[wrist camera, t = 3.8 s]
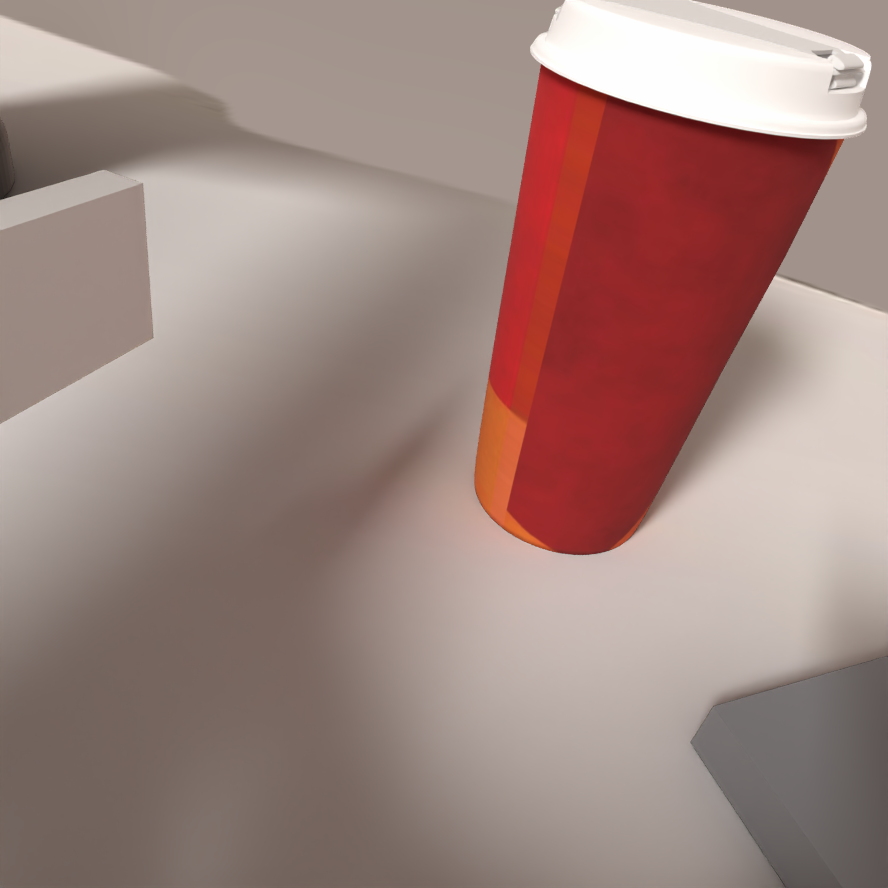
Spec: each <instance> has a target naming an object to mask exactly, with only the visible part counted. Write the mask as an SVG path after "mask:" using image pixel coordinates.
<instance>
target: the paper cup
mask: <svg viewBox="0 0 888 888" xmlns="http://www.w3.org/2000/svg"><path fill="white" fill-rule="evenodd" d="M555 12H557V13H556V14H555V15H554V16H553V19H552V22H551V25H550V28H549V30H548V32H545V33H543V34H540V35H539V36H538V37H537V38H536V40H535V41H534V43H533V44H532V45H531V48H530V50H531V54H532V56H533V57H534V58H535V59H536V60H537V61H538V62H540V63H541V68H540V74H539V80H538V86H537V92H536V98H535V104H534V110H533V116H532V122H531V128H530V134H529V140H528V146H527V152H526V157H525V163H524V169H523V175H522V181H521V187H520V193H519V199H518V205H517V211H516V217H515V222H514V228H513V234H512V240H511V246H510V252H509V258H508V264H507V270H506V276H505V282H504V288H503V293H502V299H501V306H500V312H499V318H498V324H497V330H496V336H495V342H494V348H493V354H492V360H491V366H490V372H489V378H488V384H487V391H486V397H485V403H484V409H483V416H482V422H481V428H480V435H479V442H478V449H477V456H476V466H475V490H476V494H477V497H478V499H479V501H480V503H481V505H482V507H483V508H484V510H485V511H486V512H487V514H488V515H489V516H490V517H491V518H492V519H493V520H494V521H495V522H496V523H497V524H498V525H499V526H501V527H502V528H503V529H504V530H506V531H507V532H509V533H510V534H512V535H513V536H515V537H517V538H519V539H520V540H522V541H525V542H527V543H529V544H531V545H534V546H536V547H539V548H542V549H545V550H549V551H553V552H558V553H564V554H573V555H589V554H597V553H602V552H606V551H609V550H612V549H614V548H616V547H618V546H620V545H622V544H623V543H624V542H626V541H627V540H628V539H629V538H630V537H631V535H632V534H633V533H634V532H635V530H636V529H637V527H638V526H639V524H640V522H641V521H642V519H643V517H644V516H645V514H646V512H647V511H648V509H649V507H650V505H651V503H652V502H653V500H654V498H655V496H656V494H657V493H658V491H659V489H660V487H661V485H662V483H663V482H664V480H665V478H666V476H667V474H668V472H669V470H670V469H671V467H672V465H673V463H674V461H675V459H676V457H677V455H678V454H679V452H680V450H681V448H682V446H683V444H684V442H685V441H686V439H687V437H688V435H689V433H690V431H691V429H692V427H693V425H694V424H695V422H696V420H697V418H698V416H699V414H700V412H701V410H702V408H703V407H704V405H705V403H706V401H707V399H708V397H709V395H710V393H711V391H712V389H713V388H714V386H715V384H716V382H717V380H718V378H719V376H720V374H721V372H722V371H723V369H724V367H725V365H726V363H727V361H728V359H729V358H730V356H731V354H732V352H733V350H734V348H735V347H736V345H737V343H738V341H739V339H740V338H741V336H742V334H743V332H744V330H745V329H746V327H747V325H748V323H749V321H750V319H751V318H752V316H753V314H754V312H755V310H756V309H757V307H758V305H759V303H760V301H761V300H762V298H763V296H764V294H765V292H766V290H767V289H768V287H769V285H770V283H771V281H772V280H773V278H774V276H775V274H776V272H777V271H778V269H779V267H780V265H781V263H782V261H783V259H784V258H785V256H786V254H787V252H788V250H789V248H790V246H791V244H792V242H793V240H794V238H795V236H796V234H797V232H798V229H799V228H800V226H801V224H802V222H803V220H804V218H805V216H806V214H807V212H808V210H809V208H810V206H811V204H812V202H813V200H814V198H815V196H816V194H817V192H818V190H819V188H820V186H821V184H822V182H823V180H824V178H825V176H826V174H827V172H828V170H829V168H830V166H831V164H832V162H833V160H834V158H835V156H836V154H837V152H838V151H839V148H840V147H841V145H842V143H843V141H844V139H845V138H851V137H856V136H858V135H861V134H863V132H864V131H865V129H866V127H867V125H866V121H867V116H866V113H865V111H864V110H863V109H862V108H861V107H860V103H861V100H862V97H863V94H864V91H865V87H866V84H867V81H868V77H869V74H870V71H871V62H870V58H871V57H870V55H869V54H867V53H866V52H864V51H863V50H861V49H859V48H857V47H855V46H852V45H850V44H848V43H845V42H842V41H840V40H837V39H834V38H832V37H829V36H826V35H823V34H820V33H817V32H814V31H810V30H807V29H804V28H801V27H797V26H794V25H790V24H787V23H783V22H780V21H776V20H772V19H768V18H765V17H761V16H757V15H753V14H749V13H745V12H741V11H737V10H732V9H728V8H724V7H720V6H715V5H710V4H706V3H701V2H697V1H692V0H566V1H565V2H564V4H563V6H560V7H558V8H556V10H555Z"/></svg>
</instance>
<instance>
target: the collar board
mask: <svg viewBox="0 0 888 888" xmlns="http://www.w3.org/2000/svg"><path fill="white" fill-rule="evenodd" d="M691 744H692V745H693V747H694V749H695V750H696V752H697V753H698V755H699V756H700V758H701V759H702V761H703V762H704V764H705V765H706V767H707V768H708V770H709V771H710V773H711V774H712V776H713V777H714V779H715V780H716V782H717V783H718V785H719V786H720V788H721V789H722V791H723V792H724V794H725V795H726V797H727V799H728V800H729V802H730V803H731V805H732V806H733V808H734V809H735V811H736V812H737V814H738V815H739V817H740V818H741V820H742V821H743V823H744V824H745V826H746V827H747V829H748V830H749V832H750V833H751V835H752V836H753V838H754V839H755V841H756V842H757V844H758V846H759V847H760V849H761V850H762V852H763V853H764V855H765V856H766V858H767V859H768V861H769V862H770V864H771V865H772V867H773V868H774V870H775V871H776V873H777V874H778V876H779V877H780V879H781V880H782V882H783V883H784V885H785V886H786V888H888V656H885V657H882V658H878V659H875V660H871V661H868V662H865V663H861V664H858V665H854V666H851V667H847V668H844V669H840V670H837V671H833V672H830V673H827V674H823V675H820V676H816V677H813V678H809V679H806V680H802V681H799V682H795V683H792V684H788V685H785V686H782V687H778V688H775V689H771V690H768V691H764V692H761V693H757V694H754V695H750V696H747V697H744V698H740V699H737V700H733V701H730V702H726V703H723V704H719V705H716V706H713V708H712V709H711V711H710V713H709V714H708V716H707V717H706V719H705V720H704V722H703V724H702V725H701V727H700V728H699V730H698V732H697V733H696V735H695V736H694V738H693V739H692V741H691Z"/></svg>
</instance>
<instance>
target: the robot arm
mask: <svg viewBox="0 0 888 888" xmlns="http://www.w3.org/2000/svg"><path fill="white" fill-rule="evenodd" d="M13 183H14V170H13V164H12V158H11V152H10V147H9V141H8V136H7V132H6V129H5V126H4V123H3V122H2V120H1V118H0V424H1V423H2V422H4V421H6V420H8V419H10V418H11V417H13V416H15V415H17V414H19V413H20V412H22V411H24V410H26V409H27V408H29V407H31V406H33V405H35V404H36V403H38V402H40V401H42V400H43V399H45V398H47V397H49V396H51V395H52V394H54V393H56V392H58V391H60V390H61V389H63V388H65V387H67V386H68V385H70V384H72V383H74V382H76V381H77V380H79V379H81V378H83V377H84V376H86V375H88V374H90V373H92V372H93V371H95V370H97V369H99V368H101V367H102V366H104V365H106V364H108V363H109V362H111V361H113V360H115V359H117V358H118V357H120V356H122V355H124V354H125V353H127V352H129V351H131V350H133V349H134V348H136V347H138V346H140V345H142V344H143V343H145V342H147V341H149V340H150V339H152V338H153V325H152V310H151V295H150V281H149V266H148V251H147V236H146V221H145V206H144V192H143V183H141V182H138V181H135V180H132V179H129V178H126V177H124V176H121V175H118V174H115V173H112V172H109V171H106V170H101V171H97V172H94V173H90V174H87V175H84V176H80V177H77V178H74V179H70V180H67V181H63V182H60V183H57V184H53V185H50V186H46V187H43V188H40V189H36V190H33V191H29V192H26V193H23V194H19V195H16V196H13V197H9V198H6V199H2V198H3V197H4V196H5V195H6V194H7V193H8V192H9V191H10V189H11V188H12V185H13ZM1 199H2V200H1Z"/></svg>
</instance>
